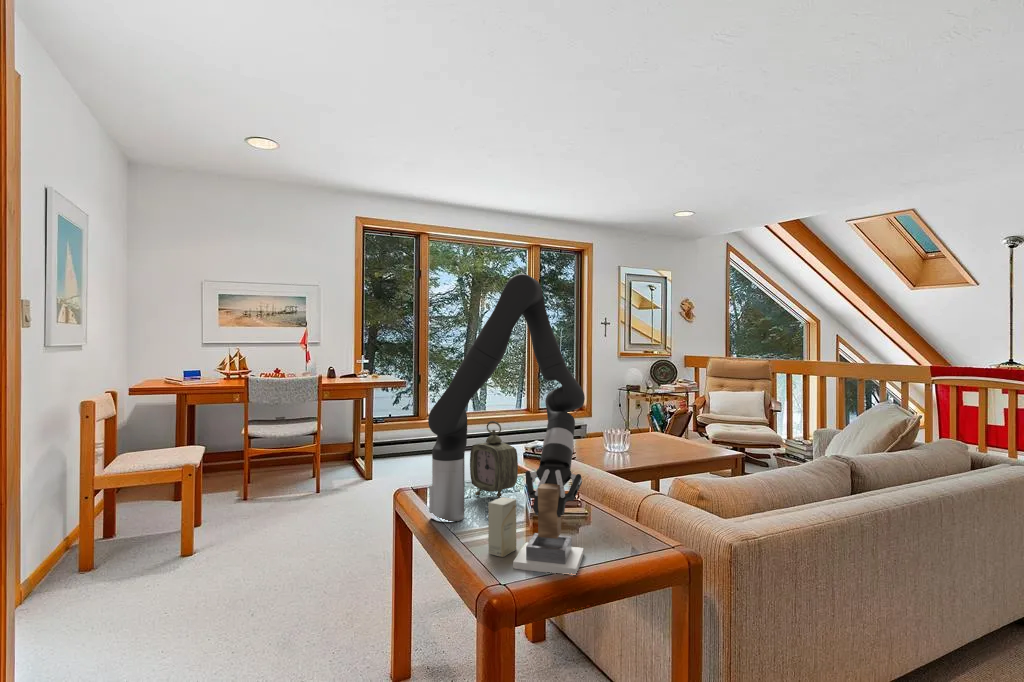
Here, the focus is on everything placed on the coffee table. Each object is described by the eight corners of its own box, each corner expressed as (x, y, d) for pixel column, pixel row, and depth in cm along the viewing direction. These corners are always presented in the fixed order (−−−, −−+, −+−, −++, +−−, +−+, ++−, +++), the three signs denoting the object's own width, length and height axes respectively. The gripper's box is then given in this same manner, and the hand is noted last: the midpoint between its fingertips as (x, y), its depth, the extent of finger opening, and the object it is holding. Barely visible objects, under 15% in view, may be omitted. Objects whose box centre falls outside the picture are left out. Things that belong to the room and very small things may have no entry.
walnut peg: (538, 536, 117) (537, 488, 117) (542, 530, 122) (542, 483, 122) (557, 538, 116) (557, 489, 116) (561, 531, 120) (560, 484, 120)
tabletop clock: (469, 496, 171) (469, 420, 171) (490, 491, 177) (490, 417, 177) (498, 506, 160) (498, 424, 160) (520, 500, 166) (520, 422, 166)
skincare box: (503, 558, 121) (503, 505, 121) (487, 554, 123) (487, 502, 123) (517, 549, 126) (517, 498, 126) (501, 545, 128) (501, 496, 128)
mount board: (512, 568, 115) (512, 548, 115) (526, 548, 126) (526, 529, 126) (576, 575, 111) (576, 554, 111) (583, 554, 123) (583, 535, 123)
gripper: (526, 440, 128) (514, 504, 116) (584, 443, 124) (577, 509, 113) (532, 457, 133) (520, 520, 121) (587, 460, 129) (581, 525, 118)
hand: (548, 514), depth 117 cm, fingers closed on walnut peg, 4 cm apart
